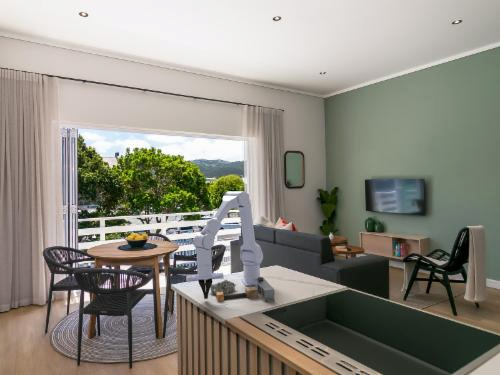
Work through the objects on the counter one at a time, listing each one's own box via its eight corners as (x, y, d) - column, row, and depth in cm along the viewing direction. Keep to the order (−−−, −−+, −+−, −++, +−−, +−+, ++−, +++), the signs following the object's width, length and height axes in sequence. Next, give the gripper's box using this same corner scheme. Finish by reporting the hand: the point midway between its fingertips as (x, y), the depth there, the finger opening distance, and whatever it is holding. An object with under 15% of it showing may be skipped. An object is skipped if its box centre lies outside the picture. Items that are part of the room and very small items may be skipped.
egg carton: (218, 297, 142) (218, 287, 142) (207, 293, 147) (207, 283, 147) (238, 290, 149) (237, 281, 149) (226, 287, 155) (226, 278, 155)
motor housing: (255, 289, 150) (254, 276, 150) (263, 288, 151) (263, 275, 150) (264, 301, 134) (264, 287, 134) (274, 300, 135) (274, 286, 135)
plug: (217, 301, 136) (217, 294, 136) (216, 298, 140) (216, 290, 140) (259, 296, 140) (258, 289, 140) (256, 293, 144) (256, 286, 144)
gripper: (186, 268, 131) (187, 303, 131) (224, 264, 134) (225, 299, 135) (185, 263, 138) (187, 297, 138) (221, 260, 141) (222, 293, 142)
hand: (205, 298), depth 137 cm, fingers closed
